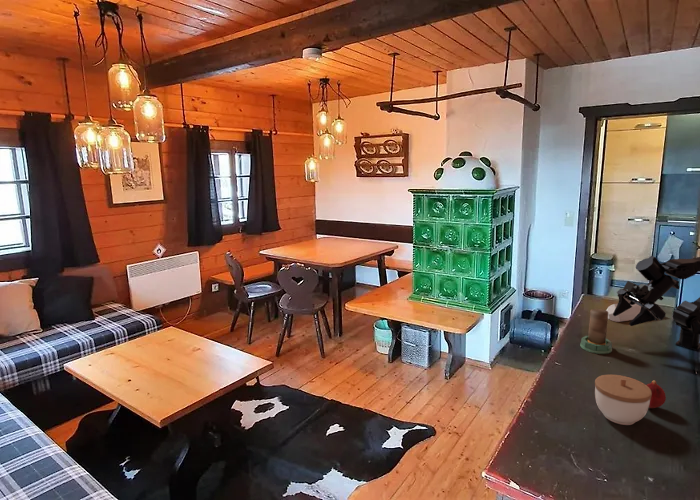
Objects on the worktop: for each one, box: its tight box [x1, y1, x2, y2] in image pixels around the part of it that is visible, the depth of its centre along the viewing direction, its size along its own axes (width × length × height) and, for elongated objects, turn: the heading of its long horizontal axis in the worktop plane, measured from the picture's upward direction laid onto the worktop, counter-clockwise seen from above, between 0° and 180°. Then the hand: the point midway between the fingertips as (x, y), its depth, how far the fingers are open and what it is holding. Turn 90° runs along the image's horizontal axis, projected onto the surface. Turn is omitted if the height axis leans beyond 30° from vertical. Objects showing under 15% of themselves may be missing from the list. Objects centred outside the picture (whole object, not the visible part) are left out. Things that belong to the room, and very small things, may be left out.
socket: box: [579, 335, 613, 355], centre depth 158 cm, size 10×10×3 cm
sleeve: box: [587, 308, 609, 345], centre depth 157 cm, size 6×6×13 cm
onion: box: [646, 379, 667, 409], centre depth 120 cm, size 6×6×8 cm
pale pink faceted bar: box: [606, 302, 641, 323], centre depth 187 cm, size 7×7×24 cm
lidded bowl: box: [594, 374, 652, 426], centre depth 116 cm, size 13×13×11 cm
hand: (621, 320), depth 156 cm, fingers open, 9 cm apart
